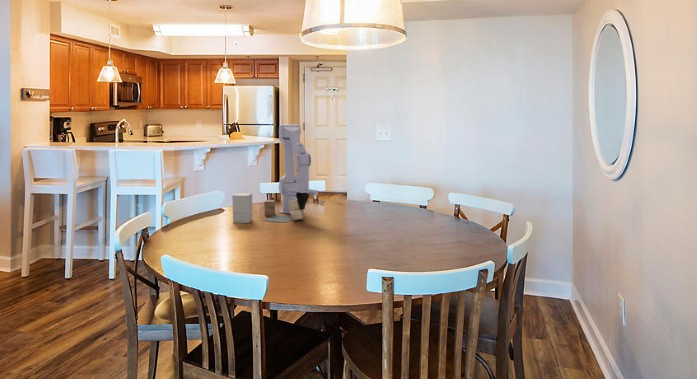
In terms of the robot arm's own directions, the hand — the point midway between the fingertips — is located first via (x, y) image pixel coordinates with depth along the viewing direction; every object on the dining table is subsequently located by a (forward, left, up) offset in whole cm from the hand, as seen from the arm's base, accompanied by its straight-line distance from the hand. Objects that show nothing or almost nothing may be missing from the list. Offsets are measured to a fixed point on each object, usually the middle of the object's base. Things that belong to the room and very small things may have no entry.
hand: (302, 209), depth 230 cm
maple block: (0, -2, -5) cm, 5 cm away
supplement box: (+12, -24, -6) cm, 28 cm away
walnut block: (-7, -20, -5) cm, 22 cm away
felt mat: (0, -11, -5) cm, 12 cm away
